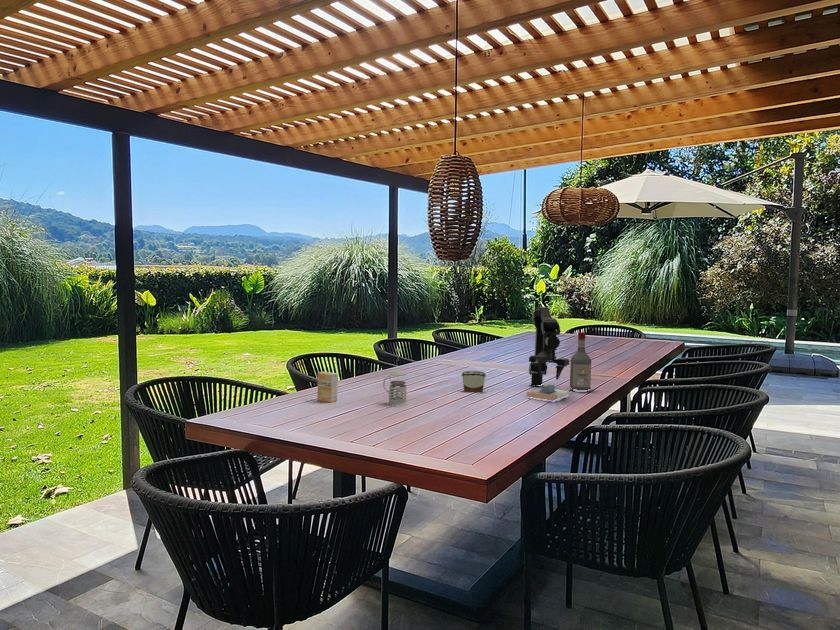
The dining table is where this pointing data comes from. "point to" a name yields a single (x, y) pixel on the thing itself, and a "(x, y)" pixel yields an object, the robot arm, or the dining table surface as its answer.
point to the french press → (397, 388)
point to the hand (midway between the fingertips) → (548, 378)
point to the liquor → (580, 366)
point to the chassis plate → (557, 392)
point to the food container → (473, 381)
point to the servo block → (547, 388)
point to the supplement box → (327, 386)
